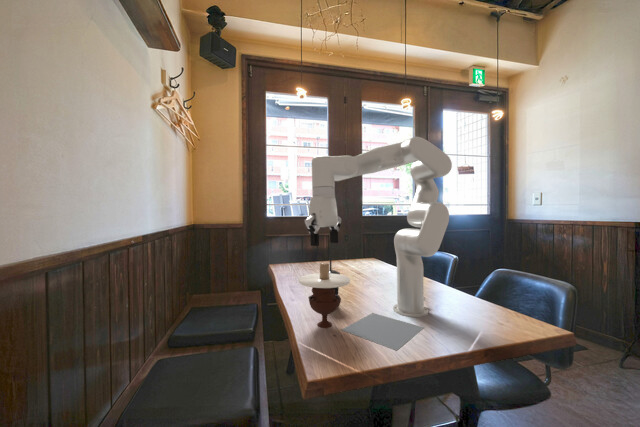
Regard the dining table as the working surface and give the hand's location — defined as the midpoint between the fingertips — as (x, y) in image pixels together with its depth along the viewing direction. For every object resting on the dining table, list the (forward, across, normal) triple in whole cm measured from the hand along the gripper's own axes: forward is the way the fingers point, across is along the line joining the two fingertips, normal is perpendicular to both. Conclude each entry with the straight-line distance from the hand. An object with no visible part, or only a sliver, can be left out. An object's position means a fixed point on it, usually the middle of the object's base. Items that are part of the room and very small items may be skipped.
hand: (324, 244), depth 86 cm
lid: (+12, 0, 0) cm, 12 cm away
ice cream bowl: (+28, +1, 0) cm, 28 cm away
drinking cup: (+28, -14, -10) cm, 33 cm away
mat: (+28, -9, +16) cm, 33 cm away
